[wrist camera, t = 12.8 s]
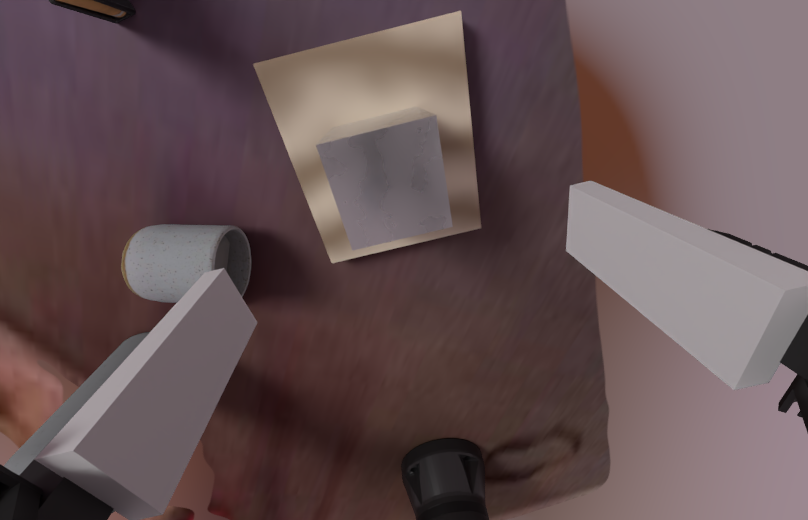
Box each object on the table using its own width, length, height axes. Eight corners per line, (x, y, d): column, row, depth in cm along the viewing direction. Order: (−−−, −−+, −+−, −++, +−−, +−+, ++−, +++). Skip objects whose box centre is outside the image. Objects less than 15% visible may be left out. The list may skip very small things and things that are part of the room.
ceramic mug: (155, 211, 30) (93, 249, 23) (243, 213, 30) (207, 250, 24) (188, 298, 35) (146, 349, 28) (262, 297, 36) (238, 346, 29)
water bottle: (213, 386, 42) (-2, 794, 18) (134, 384, 40) (-220, 827, 16) (203, 331, 37) (-112, 787, 13) (112, 325, 36) (-439, 833, 11)
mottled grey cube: (431, 189, 29) (452, 226, 21) (357, 206, 29) (352, 250, 21) (416, 106, 25) (436, 115, 18) (332, 127, 26) (315, 145, 18)
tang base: (475, 220, 33) (503, 256, 26) (333, 254, 34) (323, 297, 27) (454, 16, 24) (487, -13, 17) (261, 65, 25) (218, 57, 18)
